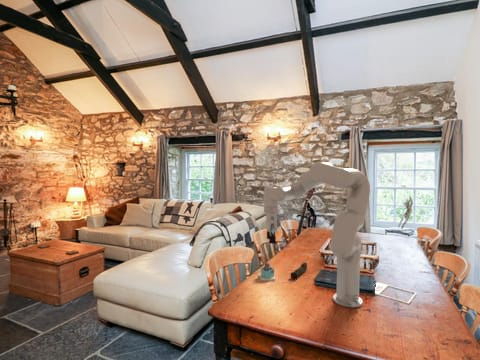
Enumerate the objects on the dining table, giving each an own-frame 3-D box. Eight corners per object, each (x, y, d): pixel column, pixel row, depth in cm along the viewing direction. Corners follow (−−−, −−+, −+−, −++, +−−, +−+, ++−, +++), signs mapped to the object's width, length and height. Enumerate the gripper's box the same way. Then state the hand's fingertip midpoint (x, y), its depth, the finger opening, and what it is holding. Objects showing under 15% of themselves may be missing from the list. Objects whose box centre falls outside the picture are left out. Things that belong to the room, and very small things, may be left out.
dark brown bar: (297, 280, 153) (297, 272, 153) (290, 278, 155) (290, 270, 155) (310, 270, 168) (311, 262, 168) (304, 269, 171) (304, 261, 170)
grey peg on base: (275, 280, 152) (275, 265, 152) (260, 280, 152) (260, 265, 152) (273, 274, 160) (273, 260, 160) (259, 275, 160) (259, 260, 160)
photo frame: (377, 281, 149) (416, 292, 137) (377, 283, 150) (416, 294, 137) (367, 290, 139) (409, 302, 126) (367, 292, 139) (409, 305, 127)
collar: (274, 278, 153) (274, 271, 152) (261, 278, 152) (261, 271, 152) (272, 273, 160) (272, 266, 159) (260, 273, 159) (260, 266, 159)
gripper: (280, 211, 145) (280, 245, 146) (275, 207, 163) (275, 237, 163) (266, 212, 145) (266, 245, 146) (262, 207, 162) (262, 237, 163)
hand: (271, 241), depth 154 cm, fingers open, 9 cm apart
